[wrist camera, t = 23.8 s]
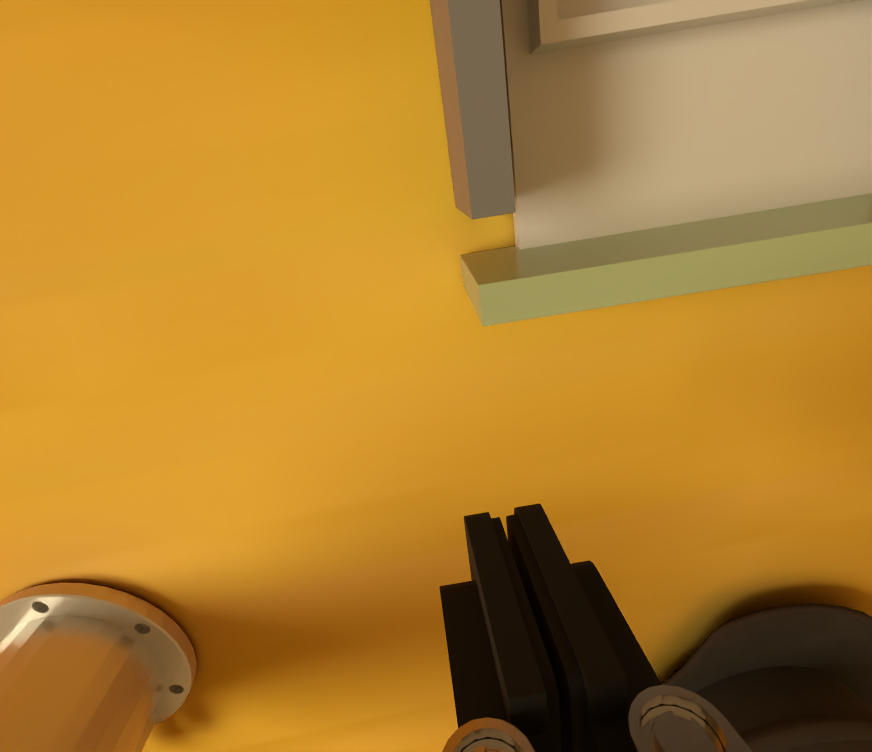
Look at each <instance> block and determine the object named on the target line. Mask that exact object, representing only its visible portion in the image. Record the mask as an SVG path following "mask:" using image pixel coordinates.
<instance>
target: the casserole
mask: <svg viewBox="0 0 872 752" xmlns="http://www.w3.org/2000/svg"><path fill="white" fill-rule="evenodd" d="M662 685H670V686H678V687H681V688H684V689H686V690H689V691H692V692H694V693H696V694H698V695H699V696H701V697H702V698H704V699H705V700H707V701H708V702H710V703H711V704H712V705H713V706H714V707H715V708H716V709H717V710H718V711H719V712H720V713H721V714H722V715H723V716H724V717H725V718H726V719H727V720H728V722H729V723H730V724H731V725H732V727H733V728H734V729H735V730H736V732H737V733H738V734H739V735H740V737H741V738H742V739H743V740H744V742H745V743H746V744H747V745H748V746H749V748H750V749H751V750H752V751H753V752H872V617H871V616H869V615H867V614H866V613H864V612H861V611H857V610H853V609H850V608H846V607H842V606H832V605H821V604H807V605H792V606H783V607H778V608H773V609H768V610H762V611H757V612H755V613H752V614H749V615H746V616H743V617H740V618H737V619H734V620H731V621H729V622H727V623H725V624H724V625H722V626H721V627H720V628H718V629H717V630H715V631H714V632H712V634H711V635H710V636H709V637H708V638H707V639H706V641H705V642H704V643H703V644H702V645H701V646H700V647H699V649H698V650H697V651H696V652H695V653H694V654H693V656H692V657H691V658H690V659H689V660H688V661H687V662H686V664H685V665H684V666H683V667H682V668H681V669H680V670H679V671H678V672H677V673H675V674H674V675H673V676H672V677H671V678H669V679H668V680H667V681H666V682H665V683H663V684H662Z"/></svg>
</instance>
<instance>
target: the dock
mask: <svg viewBox="0 0 872 752" xmlns="http://www.w3.org/2000/svg"><path fill="white" fill-rule="evenodd" d="M430 5H431V13H432V21H433V29H434V37H435V45H436V53H437V61H438V69H439V77H440V85H441V93H442V101H443V109H444V117H445V125H446V133H447V141H448V149H449V157H450V165H451V173H452V181H453V189H454V197H455V205H456V207H457V208H458V209H459V210H460V211H462V212H463V213H464V214H466V215H467V216H468V217H470V218H471V219H478V218H484V217H490V216H496V215H503V214H509V213H515V212H516V207H515V194H514V181H513V168H512V155H511V142H510V129H509V116H508V103H507V90H506V77H505V64H504V51H503V38H502V25H501V12H500V0H430Z"/></svg>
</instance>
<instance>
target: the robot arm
mask: <svg viewBox="0 0 872 752" xmlns="http://www.w3.org/2000/svg"><path fill="white" fill-rule="evenodd" d="M506 522H507V534H508V540H507V537H506V534H505V531H504V528H503V525H502V522H501V520H500V518H499V517H498V518H492V519H491V517H490V514H489V512H486V513H480V514H474V515H468V516H464V523H465V531H466V539H467V547H468V554H469V562H470V570H471V578H472V581H468V582H462V583H457V584H451V585H445V586H440V593H441V601H442V608H443V616H444V624H445V631H446V639H447V646H448V654H449V661H450V669H451V676H452V684H453V692H454V699H455V707H456V714H457V722H458V729H457V730H456V731H455V732H454V734H453V735H452V736H451V737H450V738H449V739H448V741H447V743H446V745H445V747H444V749H443V751H442V752H753V751H752V750H751V749H750V748H749V746H748V745H747V744H746V743H745V742H744V740H743V739H742V738H741V737H740V735H739V734H738V733H737V732H736V730H735V729H734V728H733V727H732V725H731V724H730V723H729V722H728V720H727V719H726V718H725V717H724V716H723V715H722V714H721V713H720V712H719V711H718V710H717V709H716V708H715V707H714V706H713V705H712V704H711V703H710V702H708V701H707V700H705V699H704V698H702V697H701V696H699V695H698V694H696V693H694V692H692V691H689V690H686V689H684V688H681V687H678V686H670V685H661V683H660V681H659V679H658V677H657V676H656V674H655V672H654V670H653V668H652V667H651V665H650V663H649V661H648V660H647V658H646V656H645V654H644V652H643V651H642V649H641V647H640V645H639V643H638V642H637V640H636V638H635V636H634V634H633V633H632V631H631V629H630V627H629V626H628V624H627V622H626V620H625V618H624V617H623V615H622V613H621V611H620V609H619V608H618V606H617V604H616V602H615V601H614V599H613V597H612V595H611V593H610V592H609V590H608V588H607V586H606V584H605V583H604V581H603V579H602V577H601V575H600V574H599V572H598V570H597V568H596V567H595V566H594V564H593V563H592V562H591V561H584V562H578V563H573V564H570V562H569V560H568V558H567V556H566V554H565V552H564V550H563V548H562V546H561V544H560V542H559V540H558V538H557V536H556V534H555V532H554V530H553V528H552V526H551V524H550V522H549V520H548V518H547V516H546V514H545V512H544V510H543V508H542V506H541V505H540V504H534V505H528V506H522V507H516V508H514V515H510V516H507V517H506ZM196 670H197V661H196V656H195V652H194V649H193V647H192V645H191V643H190V641H189V639H188V637H187V635H186V634H185V633H184V632H183V631H182V629H181V628H180V627H179V626H178V624H177V623H176V622H175V621H173V620H172V619H171V618H170V617H169V616H167V615H166V614H165V613H164V612H163V611H161V610H160V609H158V608H156V607H155V606H153V605H151V604H150V603H148V602H146V601H145V600H142V599H140V598H138V597H135V596H133V595H131V594H128V593H126V592H123V591H119V590H116V589H112V588H109V587H105V586H99V585H92V584H86V583H53V584H44V585H38V586H35V587H31V588H27V589H24V590H21V591H19V592H17V593H15V594H13V595H11V596H9V597H7V598H5V599H4V600H2V601H1V602H0V752H142V750H143V747H144V745H145V743H146V741H147V739H148V737H149V735H150V732H151V730H152V728H153V726H154V725H155V724H157V723H160V722H162V721H163V720H165V719H166V718H168V717H170V716H171V715H173V714H174V713H175V712H176V711H177V710H178V709H179V708H180V707H181V706H182V705H183V703H184V702H185V700H186V698H187V696H188V694H189V692H190V690H191V687H192V685H193V682H194V679H195V677H196Z"/></svg>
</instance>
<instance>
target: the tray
mask: <svg viewBox="0 0 872 752" xmlns="http://www.w3.org/2000/svg"><path fill="white" fill-rule="evenodd" d="M500 12H501V25H502V38H503V51H504V64H505V77H506V90H507V103H508V116H509V129H510V142H511V155H512V168H513V181H514V194H515V207H516V212H515V213H513V218H514V231H515V244H516V246H512V247H506V248H500V249H494V250H487V251H481V252H475V253H469V254H462V255H460V259H461V267H462V275H463V283H464V287H465V289H466V292H467V294H468V296H469V298H470V300H471V302H472V304H473V306H474V309H475V311H476V313H477V315H478V317H479V319H480V321H481V323H482V326H488V325H494V324H501V323H507V322H513V321H520V320H526V319H532V318H539V317H545V316H551V315H558V314H564V313H570V312H577V311H583V310H590V309H596V308H602V307H609V306H615V305H621V304H628V303H634V302H640V301H647V300H653V299H659V298H666V297H672V296H678V295H685V294H691V293H697V292H704V291H710V290H716V289H723V288H729V287H736V286H742V285H748V284H755V283H761V282H767V281H774V280H780V279H786V278H793V277H799V276H805V275H812V274H818V273H824V272H831V271H837V270H843V269H850V268H856V267H862V266H869V265H872V0H500Z"/></svg>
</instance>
